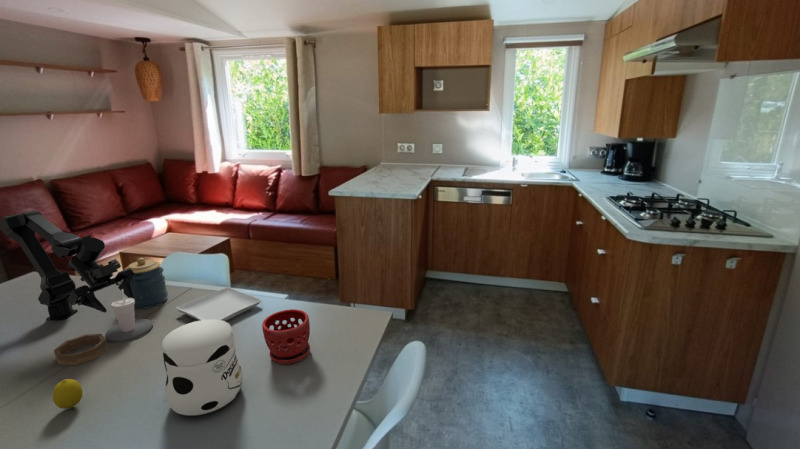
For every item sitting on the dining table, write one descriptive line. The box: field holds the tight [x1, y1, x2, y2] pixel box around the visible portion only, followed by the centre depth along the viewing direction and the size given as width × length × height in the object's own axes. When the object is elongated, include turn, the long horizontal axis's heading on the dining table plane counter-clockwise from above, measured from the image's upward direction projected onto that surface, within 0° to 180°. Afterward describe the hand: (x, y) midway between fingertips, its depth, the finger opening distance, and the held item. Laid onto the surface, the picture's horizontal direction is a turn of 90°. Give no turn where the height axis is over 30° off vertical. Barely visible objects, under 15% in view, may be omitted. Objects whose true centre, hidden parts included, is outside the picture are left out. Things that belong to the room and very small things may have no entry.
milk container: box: [161, 319, 244, 417], centre depth 99 cm, size 17×17×18 cm
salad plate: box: [175, 287, 262, 322], centre depth 145 cm, size 21×21×3 cm
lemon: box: [52, 378, 83, 410], centre depth 97 cm, size 6×6×8 cm
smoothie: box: [110, 289, 136, 332], centre depth 130 cm, size 6×6×14 cm
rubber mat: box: [104, 318, 154, 343], centre depth 132 cm, size 13×13×1 cm
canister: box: [123, 257, 169, 310], centre depth 150 cm, size 13×13×18 cm
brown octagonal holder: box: [53, 333, 109, 367], centre depth 120 cm, size 12×12×3 cm
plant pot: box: [261, 308, 311, 365], centre depth 117 cm, size 13×13×12 cm
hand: (119, 305), depth 130 cm, fingers open, 9 cm apart
